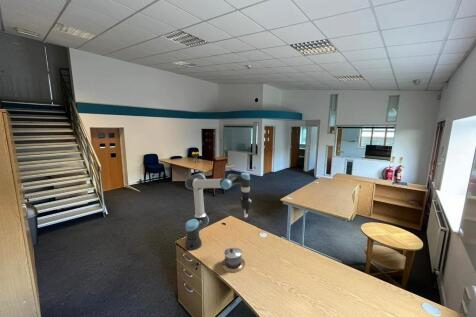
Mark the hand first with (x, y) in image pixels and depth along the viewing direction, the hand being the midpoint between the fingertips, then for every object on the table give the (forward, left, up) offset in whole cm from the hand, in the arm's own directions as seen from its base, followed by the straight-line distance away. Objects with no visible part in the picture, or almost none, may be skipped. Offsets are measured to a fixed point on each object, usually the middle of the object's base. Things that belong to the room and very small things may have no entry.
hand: (246, 216), depth 182 cm
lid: (+7, -22, -21) cm, 31 cm away
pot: (+7, -22, -30) cm, 38 cm away
